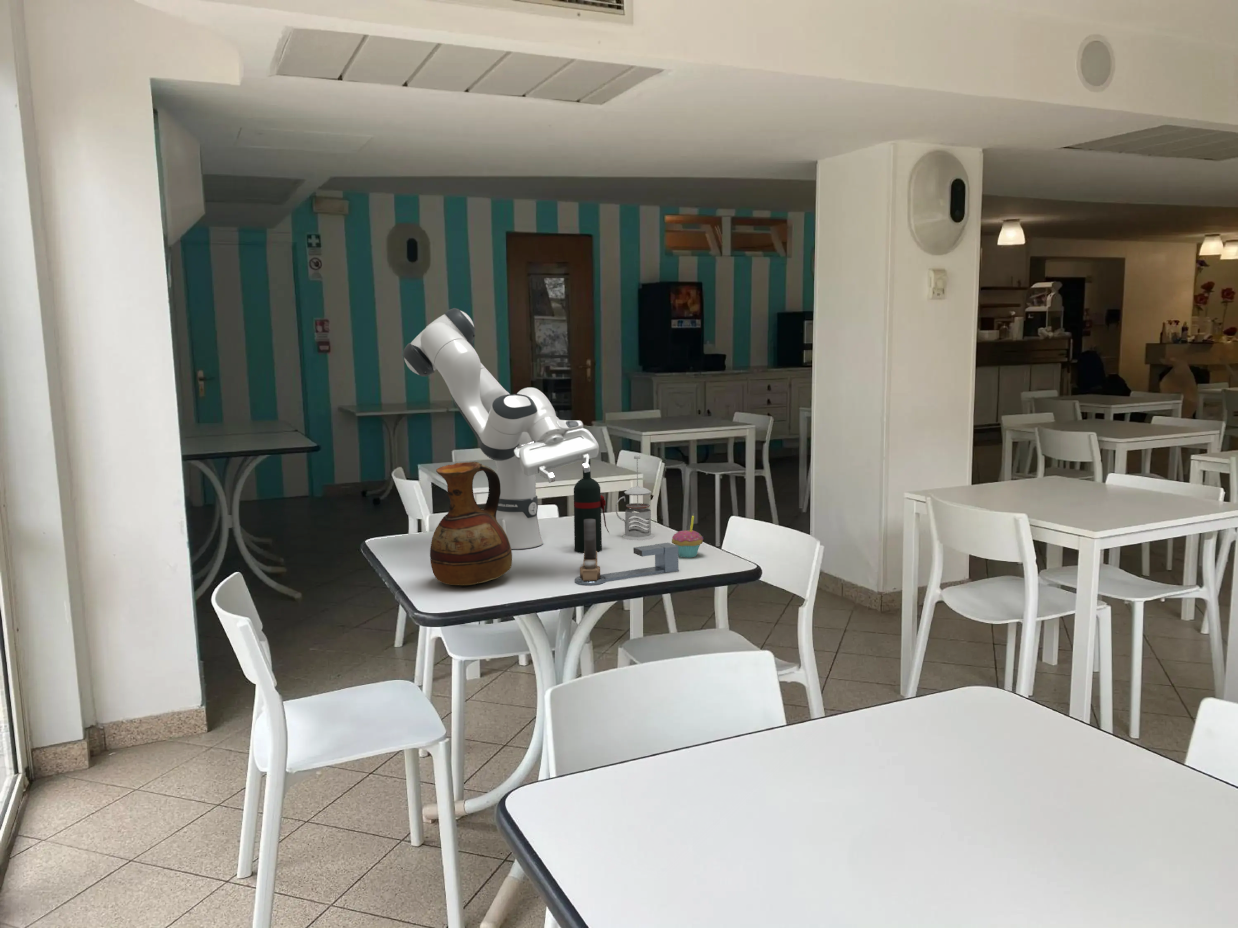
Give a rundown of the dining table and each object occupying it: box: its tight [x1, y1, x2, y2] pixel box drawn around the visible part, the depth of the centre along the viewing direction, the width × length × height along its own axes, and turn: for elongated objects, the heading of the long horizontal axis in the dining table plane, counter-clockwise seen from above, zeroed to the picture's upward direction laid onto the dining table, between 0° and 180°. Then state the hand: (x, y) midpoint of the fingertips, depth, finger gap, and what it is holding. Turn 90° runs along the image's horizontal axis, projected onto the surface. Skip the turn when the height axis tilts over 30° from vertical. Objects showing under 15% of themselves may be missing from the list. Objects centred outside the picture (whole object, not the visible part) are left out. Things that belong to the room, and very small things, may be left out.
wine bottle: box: [573, 459, 610, 554], centre depth 262 cm, size 8×10×30 cm
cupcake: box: [671, 513, 704, 559], centre depth 254 cm, size 9×8×12 cm
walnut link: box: [579, 519, 601, 581], centre depth 236 cm, size 21×5×12 cm, turn 1°
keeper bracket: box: [574, 542, 679, 586], centre depth 234 cm, size 28×8×6 cm, turn 118°
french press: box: [615, 454, 655, 541], centre depth 279 cm, size 10×12×25 cm
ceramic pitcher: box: [429, 461, 513, 586], centre depth 230 cm, size 20×20×30 cm
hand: (570, 475), depth 229 cm, fingers open, 8 cm apart
